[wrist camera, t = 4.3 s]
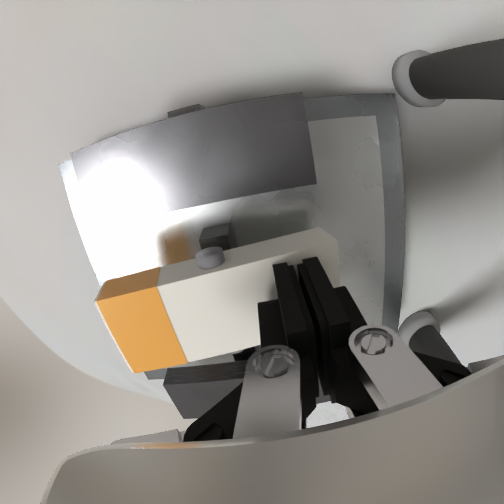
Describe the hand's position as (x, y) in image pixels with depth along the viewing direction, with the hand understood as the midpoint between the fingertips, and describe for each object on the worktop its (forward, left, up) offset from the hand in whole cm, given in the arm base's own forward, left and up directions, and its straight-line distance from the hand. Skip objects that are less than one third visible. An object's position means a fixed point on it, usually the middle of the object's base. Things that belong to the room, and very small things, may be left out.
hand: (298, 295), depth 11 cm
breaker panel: (+2, 0, -6) cm, 6 cm away
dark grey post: (-9, -8, -6) cm, 13 cm away
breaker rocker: (+3, 0, 0) cm, 3 cm away
